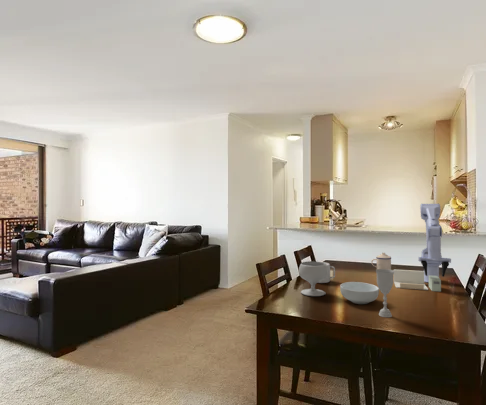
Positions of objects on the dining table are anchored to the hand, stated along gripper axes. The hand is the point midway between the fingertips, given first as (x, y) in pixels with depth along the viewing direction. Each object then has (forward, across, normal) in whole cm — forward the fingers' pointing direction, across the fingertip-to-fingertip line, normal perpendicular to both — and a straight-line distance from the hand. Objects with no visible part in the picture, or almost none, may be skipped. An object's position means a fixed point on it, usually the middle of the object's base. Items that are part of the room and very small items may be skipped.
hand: (434, 275), depth 175 cm
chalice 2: (+7, -26, -49) cm, 56 cm away
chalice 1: (+7, -58, -26) cm, 64 cm away
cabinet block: (+7, 0, 0) cm, 7 cm away
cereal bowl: (+7, -36, -33) cm, 50 cm away
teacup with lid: (+7, -24, +39) cm, 46 cm away
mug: (+7, -56, +1) cm, 57 cm away
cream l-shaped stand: (+7, -11, +3) cm, 13 cm away
